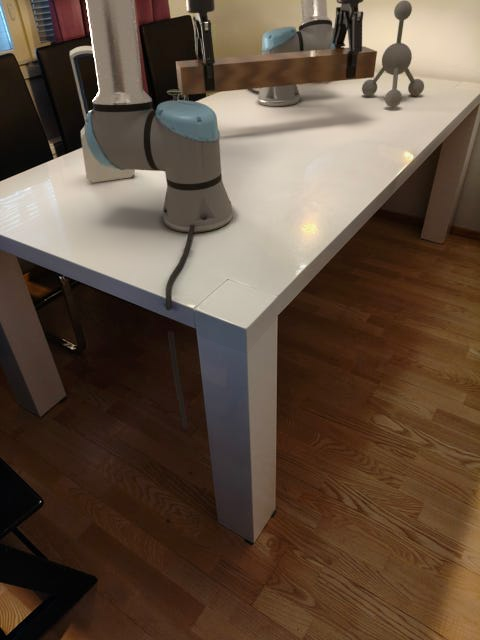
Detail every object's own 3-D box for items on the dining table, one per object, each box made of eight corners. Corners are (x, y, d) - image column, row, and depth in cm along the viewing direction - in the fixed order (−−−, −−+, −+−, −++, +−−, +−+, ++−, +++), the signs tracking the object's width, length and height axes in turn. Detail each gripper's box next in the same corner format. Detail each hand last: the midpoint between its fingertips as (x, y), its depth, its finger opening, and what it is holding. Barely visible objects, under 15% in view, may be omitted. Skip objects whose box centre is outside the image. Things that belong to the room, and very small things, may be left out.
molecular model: (443, 101, 169) (463, -1, 151) (390, 111, 164) (404, 5, 145) (402, 88, 187) (415, -6, 169) (352, 96, 181) (360, 0, 163)
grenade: (169, 124, 164) (164, 92, 158) (174, 119, 168) (171, 88, 162) (187, 125, 162) (184, 92, 156) (193, 120, 167) (189, 88, 161)
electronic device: (87, 183, 126) (55, 53, 107) (87, 173, 131) (56, 48, 113) (136, 176, 128) (112, 47, 110) (133, 167, 134) (110, 43, 115)
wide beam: (182, 95, 138) (180, 67, 133) (178, 87, 145) (175, 61, 140) (373, 77, 148) (377, 51, 144) (361, 71, 155) (364, 46, 150)
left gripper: (221, -4, 121) (227, 93, 134) (206, -10, 137) (212, 77, 151) (192, -2, 119) (200, 96, 133) (179, -8, 136) (188, 80, 150)
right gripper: (381, -13, 128) (371, 80, 142) (348, -18, 144) (341, 65, 159) (354, -10, 127) (347, 83, 141) (324, -16, 143) (320, 68, 157)
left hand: (207, 86), depth 142 cm, fingers closed on wide beam, 9 cm apart
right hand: (344, 74), depth 150 cm, fingers closed on wide beam, 9 cm apart
